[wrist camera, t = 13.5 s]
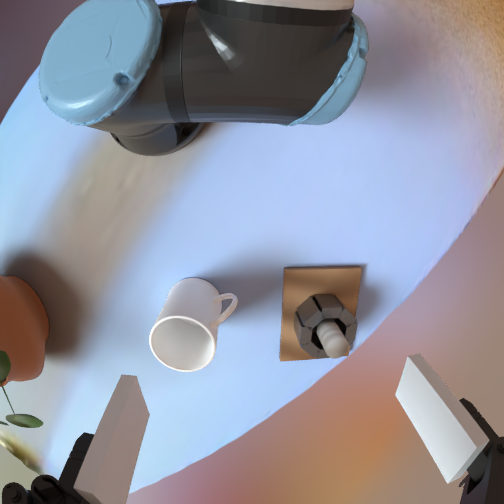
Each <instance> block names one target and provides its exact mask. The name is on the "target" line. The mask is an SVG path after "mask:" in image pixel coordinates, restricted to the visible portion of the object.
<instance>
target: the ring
mask: <svg viewBox="0 0 504 504" xmlns="http://www.w3.org/2000/svg"><path fill="white" fill-rule="evenodd" d="M296 309H297V311H295V315H294V330H295V333H296V336H297V339H298V341H299V344H300V347H301V348H302V349H303V350H304V351H305V352H307V353H308V354H309V355H310V356H311V357H313V358H314V357H316V359H319V358H330V357H329V356H328V355H327V354H326V352H325V350H324V347H323V345H322V343H321V341H320V339H319V337H318V335H317V333H312V329H313V328H314V327H315V326H316V325H317V324H319V323H320V322H321V321H322V320H323V319H327V318H336V320H335V322H336V324H337V325H338V327H339V329H340V330H341V332H342V333H343V335H344V337H345V338H346V340H347V341H348V343H349V346H350V345H351V344H352V341H351V340H354V339H355V334H356V328H357V322H356V319H355V318H354V316H353V315H352V314H351V312H350V311H349V310H348V309H347V307H346V306H345V305H344V304H343V303H342V302H341V301H340V300H339V299H338V297H337V296H336V295H334V296H333V294H332V293H330V294H314V296H313V298H312V297H311V296H309V297H308V298H307V299H306V300H305V301H304V302H303V303H302V304H301V305H300V306H298V307H297V308H296Z"/></svg>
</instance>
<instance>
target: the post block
mask: <svg viewBox="0 0 504 504" xmlns="http://www.w3.org/2000/svg"><path fill="white" fill-rule="evenodd" d="M361 271H362V268H361V267H359V266H339V267H291V268H284V277H283V301H282V321H281V339H280V356H279V358H280V361H294V360H308V359H316V357H314V358H313V357H311V356H310V355H309V354H308V353H307V352H305V351H304V350H303V349H302V348H301V347H300V344H299V341H298V339H297V336H296V333H295V330H294V315H295V311H297V309H296V308H297V307H298V306H300V305H301V304H302V303H303V302H304V301H305V300H306V299H307V298H308V297H309V296H311V297H312V298H313V296H314V294H330V293H332V294H333V296H334V295H336V296H337V297H338V299H339V300H340V301H341V302H342V303H343V304H344V305H345V306H346V307H347V309H348V310H349V311H350V312H351V314H352V315H353V316H354V318H355V315H356V308H357V301H358V294H359V287H360V279H361ZM335 320H336V318H327V319H323V320H322V321H321V322H320V323H319V324H317V325H316V326H315V327H314V328H313V329H312V333H317V335H318V337H319V339H320V341H321V343H322V345H323V347H324V350H325V352H326V354H327V355H328V356H329V357H330V358H339V357H342V356H348V354H349V349H350V346H349V343H348V341H347V340H346V338H345V337H344V335H343V333H342V332H341V330H340V329H339V327H338V325H337V324H336V322H335ZM319 359H320V358H319Z"/></svg>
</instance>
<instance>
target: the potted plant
mask: <svg viewBox="0 0 504 504" xmlns="http://www.w3.org/2000/svg"><path fill="white" fill-rule="evenodd" d="M48 335H49V322H48V317H47V314H46V311H45V308H44V306H43V304H42V302H41V300H40V299H39V297H38V295H37V294H36V293H35V291H34V290H33V289H32V288H31V287H30V286H29V285H28V284H27V283H26V282H25V281H23V280H22V279H20V278H18V277H15V276H6V277H4V276H2V275H0V387H2V388H3V390H4V387H3V386H5V385H6V384H7V383H8V382H10V381H27V380H32V379H35V378H37V377H38V376H39V375H40V374H41V372H42V370H43V367H44V359H45V342H46V341H47V338H48ZM4 393H5V395H6V392H5V390H4ZM6 397H7V395H6ZM7 399H8V397H7ZM8 402H9V399H8ZM9 404H10V402H9ZM10 406H11V404H10ZM11 408H12V406H11ZM12 410H13V409H12ZM13 412H14V411H13ZM6 420H7V421H9V422H10V423H12V424H14V425H17V426H20V427H26V428H36V427H40V426H42V425H43V422H42V421H41V420H39V419H38V418H36V417H34V416H32V415H28V414H15V413H14V414H13V415H7V416H6ZM0 424H4V425H8V424H7V423H4V422H1V421H0Z"/></svg>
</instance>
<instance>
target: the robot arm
mask: <svg viewBox="0 0 504 504" xmlns="http://www.w3.org/2000/svg"><path fill="white" fill-rule="evenodd" d="M353 6H354V0H196V1H184V2H174V3H165V4H158V5H157V3H156V2H155V0H88V1H86V2H84V3H83V4H81V5H80V6H79V7H77V8H76V9H75V10H74V11H73V12H72V13H70V14H69V15H68V16H67V17H66V18H65V20H64V22H63V23H62V24H61V26H60V27H59V28H58V29H57V30H56V31H55V32H54V34H53V35H52V37H51V39H50V40H49V42H48V44H47V46H46V48H45V51H44V54H43V56H42V60H41V64H40V69H39V89H40V93H41V96H42V99H43V101H44V102H45V104H46V106H47V107H48V108H49V109H50V111H51V112H53V113H54V114H55V115H57V116H59V117H61V118H63V119H65V120H66V121H68V122H70V123H72V124H74V125H82V126H88V127H92V128H96V129H99V130H103V131H107V132H110V133H111V135H112V137H113V138H114V139H115V140H116V142H117V143H118V144H120V145H121V146H122V147H124V148H125V149H127V150H129V151H131V152H133V153H136V154H141V155H146V156H161V155H166V154H170V153H173V152H175V151H177V150H179V149H181V148H183V147H184V146H186V145H187V144H189V143H190V142H191V141H192V140H193V139H194V138H195V137H196V136H197V135H198V134H199V132H200V131H201V130H202V128H203V127H204V125H205V123H206V122H249V123H272V124H280V125H283V126H288V125H289V126H293V125H297V124H307V125H322V124H327V123H330V122H332V121H334V120H335V119H337V118H338V117H339V116H341V115H342V114H343V113H344V112H345V111H346V110H347V108H348V107H349V106H350V104H351V103H352V101H353V100H354V98H355V96H356V94H357V92H358V90H359V88H360V86H361V83H362V80H363V77H364V74H365V70H366V66H367V61H366V60H365V59H364V57H365V54H366V53H367V51H368V50H369V41H368V34H367V30H366V27H365V25H364V23H363V22H362V20H361V19H360V18H359V17H358V16H356V15H355V14H354V13H353V12H352V10H353ZM396 397H397V399H398V400H399V402H400V403H401V405H402V407H403V408H404V410H405V412H406V413H407V415H408V416H409V418H410V420H411V422H412V423H413V425H414V426H415V428H416V430H417V432H418V433H419V435H420V437H421V438H422V440H423V442H424V443H425V445H426V447H427V448H428V450H429V452H430V454H431V455H432V457H433V459H434V461H435V462H436V464H437V466H438V468H439V469H440V471H441V473H442V475H443V476H444V478H445V480H446V482H447V483H450V482H452V481H454V480H456V479H457V478H459V477H461V476H462V475H463V473H464V472H465V471H466V470H467V471H468V473H469V474H468V475H467V476H466V477H465V478H464V479H463V481H462V482H461V483H460V485H459V487H461V486H462V485H463V484H464V483H465V485H464V489H463V493H462V497H461V501H460V504H504V437H498V435H497V434H496V433H495V432H494V431H493V429H492V428H491V427H490V425H489V424H488V423H487V422H486V420H485V419H484V418H483V417H482V415H481V414H480V413H479V412H477V409H476V408H475V407H474V406H473V404H472V403H470V402H469V401H467V400H466V399H464V398H463V399H461V400H458V399H457V397H456V396H455V395H454V394H453V393H452V391H451V390H450V389H449V388H448V386H447V385H446V384H445V383H444V382H443V380H442V379H441V378H440V377H439V375H438V374H437V373H436V372H435V371H434V370H433V368H432V367H431V366H430V365H429V364H428V363H427V362H426V360H425V359H424V358H423V357H422V356H421V354H415V355H411V356H408V357H407V361H406V364H405V367H404V371H403V373H402V377H401V380H400V383H399V386H398V389H397V391H396ZM149 415H150V414H149V412H148V409H147V406H146V403H145V400H144V397H143V395H142V392H141V389H140V386H139V383H138V379H137V376H131V375H121V377H120V380H119V382H118V384H117V386H116V388H115V390H114V392H113V394H112V397H111V399H110V401H109V403H108V405H107V408H106V410H105V412H104V414H103V417H102V419H101V421H100V423H99V426H98V428H97V430H96V433H95V435H94V434H89V433H85V432H84V433H83V434H82V435H81V436H80V437H79V438H78V439H77V440H76V442H75V444H74V446H73V450H72V451H71V453H70V455H69V458H68V460H67V462H66V464H65V467H64V469H63V471H62V474H61V476H60V478H59V481H58V480H57V479H56V478H54V477H53V476H50V475H40V476H38V477H36V478H35V479H34V480H33V482H32V485H31V490H26V489H25V488H24V487H23V486H22V485H20V484H18V483H15V482H13V483H9V484H7V485H5V487H4V488H3V491H2V504H126V501H127V497H128V493H129V489H130V485H131V481H132V477H133V473H134V469H135V466H136V462H137V458H138V454H139V451H140V447H141V443H142V440H143V436H144V433H145V429H146V426H147V422H148V419H149Z"/></svg>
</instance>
